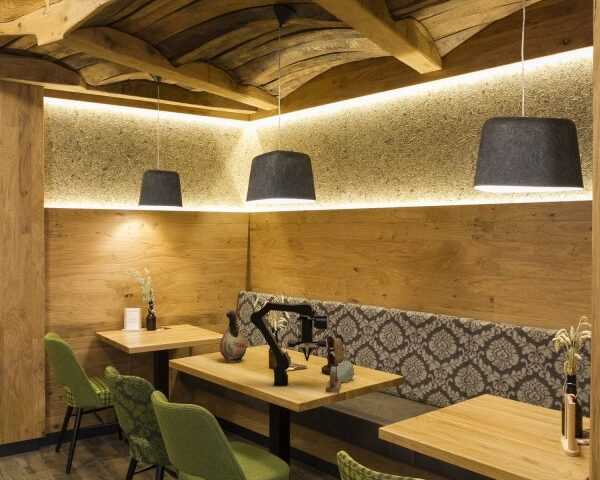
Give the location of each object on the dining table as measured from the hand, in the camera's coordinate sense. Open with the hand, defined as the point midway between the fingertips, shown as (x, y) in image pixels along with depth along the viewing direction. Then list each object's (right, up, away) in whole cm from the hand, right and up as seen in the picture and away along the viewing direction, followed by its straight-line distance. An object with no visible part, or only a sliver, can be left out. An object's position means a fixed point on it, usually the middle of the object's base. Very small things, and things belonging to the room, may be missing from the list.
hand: (307, 360), depth 299 cm
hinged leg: (+12, -9, -7) cm, 16 cm away
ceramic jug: (-42, -12, +56) cm, 71 cm away
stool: (+12, -12, -7) cm, 19 cm away
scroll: (+15, -12, +27) cm, 34 cm away
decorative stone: (+18, -12, +9) cm, 24 cm away
